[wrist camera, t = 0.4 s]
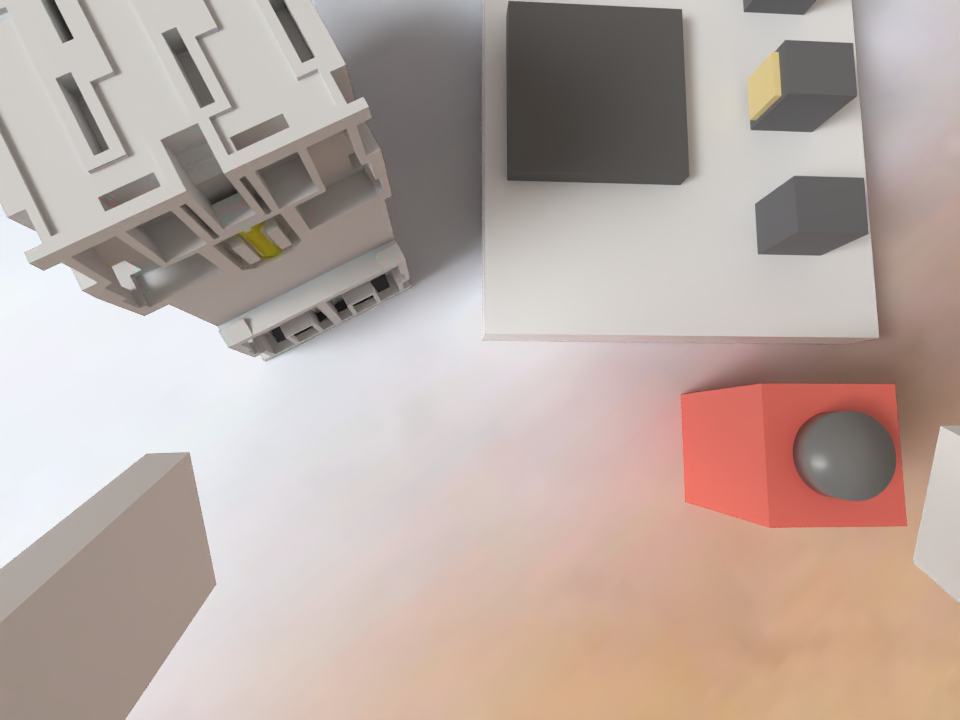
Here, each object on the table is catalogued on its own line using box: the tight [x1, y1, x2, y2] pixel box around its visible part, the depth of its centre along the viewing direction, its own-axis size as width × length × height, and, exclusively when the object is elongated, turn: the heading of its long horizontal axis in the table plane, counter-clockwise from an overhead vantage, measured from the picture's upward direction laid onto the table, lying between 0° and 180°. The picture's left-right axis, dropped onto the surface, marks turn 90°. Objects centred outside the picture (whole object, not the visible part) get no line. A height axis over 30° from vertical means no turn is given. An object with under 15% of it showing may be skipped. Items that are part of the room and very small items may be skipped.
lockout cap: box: [681, 383, 907, 528], centre depth 23 cm, size 5×5×8 cm
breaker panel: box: [482, 0, 879, 344], centre depth 26 cm, size 22×18×5 cm
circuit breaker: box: [0, 0, 412, 361], centre depth 20 cm, size 8×14×15 cm, turn 28°
